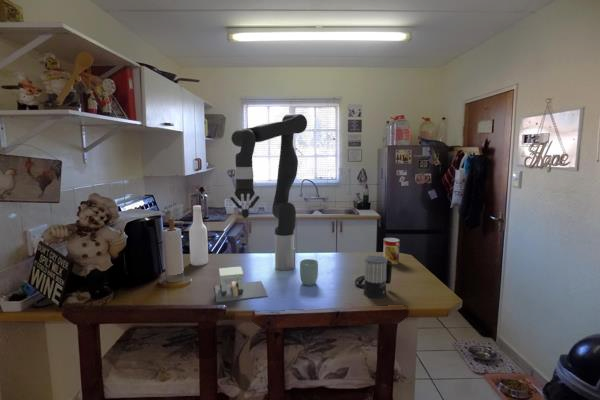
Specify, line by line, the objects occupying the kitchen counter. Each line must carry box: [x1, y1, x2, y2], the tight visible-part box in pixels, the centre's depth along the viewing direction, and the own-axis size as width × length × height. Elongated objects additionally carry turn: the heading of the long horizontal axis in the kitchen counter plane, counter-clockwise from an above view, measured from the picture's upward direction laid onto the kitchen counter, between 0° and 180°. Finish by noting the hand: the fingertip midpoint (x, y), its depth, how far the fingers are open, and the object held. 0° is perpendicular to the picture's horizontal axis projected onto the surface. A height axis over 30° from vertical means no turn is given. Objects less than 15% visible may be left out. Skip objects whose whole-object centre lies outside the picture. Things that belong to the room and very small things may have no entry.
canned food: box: [382, 237, 400, 265], centre depth 181 cm, size 8×8×12 cm
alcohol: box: [188, 204, 209, 267], centre depth 177 cm, size 9×9×30 cm
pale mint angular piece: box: [218, 266, 244, 296], centre depth 142 cm, size 9×9×9 cm
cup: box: [299, 258, 319, 287], centre depth 151 cm, size 8×8×10 cm
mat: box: [214, 280, 269, 303], centre depth 143 cm, size 20×16×3 cm
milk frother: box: [354, 255, 393, 299], centre depth 144 cm, size 14×16×15 cm
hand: (245, 217), depth 150 cm, fingers closed
